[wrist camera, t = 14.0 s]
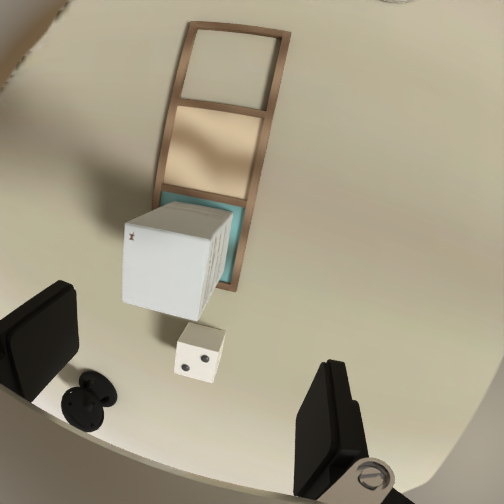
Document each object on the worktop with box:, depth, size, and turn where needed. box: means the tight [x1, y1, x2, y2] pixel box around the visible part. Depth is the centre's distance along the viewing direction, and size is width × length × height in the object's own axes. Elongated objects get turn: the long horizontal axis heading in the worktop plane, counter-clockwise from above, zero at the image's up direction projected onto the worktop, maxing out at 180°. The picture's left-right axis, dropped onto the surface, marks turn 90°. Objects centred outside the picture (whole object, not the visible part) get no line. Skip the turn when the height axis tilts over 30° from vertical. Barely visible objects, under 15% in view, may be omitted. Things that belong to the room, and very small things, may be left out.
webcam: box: [61, 371, 117, 432], centre depth 42 cm, size 8×8×10 cm
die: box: [174, 322, 226, 383], centre depth 39 cm, size 5×5×5 cm
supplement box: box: [122, 201, 233, 321], centre depth 31 cm, size 7×7×13 cm
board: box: [151, 21, 291, 292], centre depth 34 cm, size 31×12×1 cm, turn 169°
